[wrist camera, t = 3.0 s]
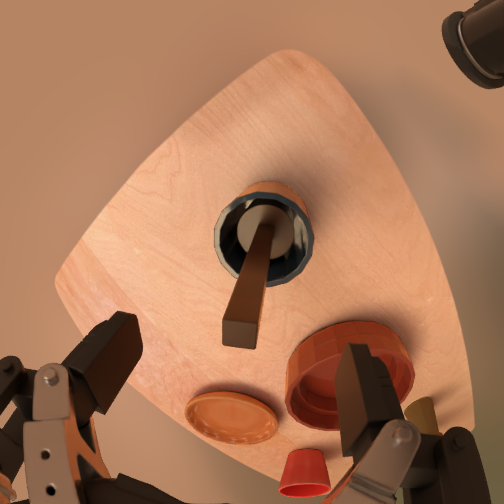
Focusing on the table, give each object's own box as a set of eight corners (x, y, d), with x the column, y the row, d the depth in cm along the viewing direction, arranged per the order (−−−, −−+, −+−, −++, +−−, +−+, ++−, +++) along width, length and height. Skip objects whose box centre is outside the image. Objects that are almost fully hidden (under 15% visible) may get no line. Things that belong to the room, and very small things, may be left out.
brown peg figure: (427, 412, 38) (441, 453, 28) (401, 419, 39) (412, 463, 28) (436, 394, 36) (453, 438, 25) (408, 401, 37) (423, 448, 26)
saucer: (283, 433, 42) (282, 445, 39) (204, 431, 45) (200, 443, 42) (272, 382, 37) (271, 396, 34) (176, 381, 40) (170, 394, 37)
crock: (234, 178, 27) (215, 188, 20) (310, 185, 27) (319, 197, 19) (231, 249, 30) (213, 281, 23) (301, 256, 30) (306, 291, 22)
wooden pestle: (246, 193, 27) (174, 271, 10) (295, 197, 27) (313, 287, 9) (243, 239, 29) (184, 367, 12) (290, 244, 29) (292, 382, 11)
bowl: (296, 313, 32) (298, 344, 27) (418, 320, 31) (435, 347, 25) (279, 399, 38) (277, 429, 33) (378, 400, 37) (385, 427, 31)
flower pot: (271, 458, 47) (267, 493, 38) (300, 441, 43) (299, 481, 34) (309, 466, 48) (308, 499, 39) (339, 450, 44) (342, 486, 35)
